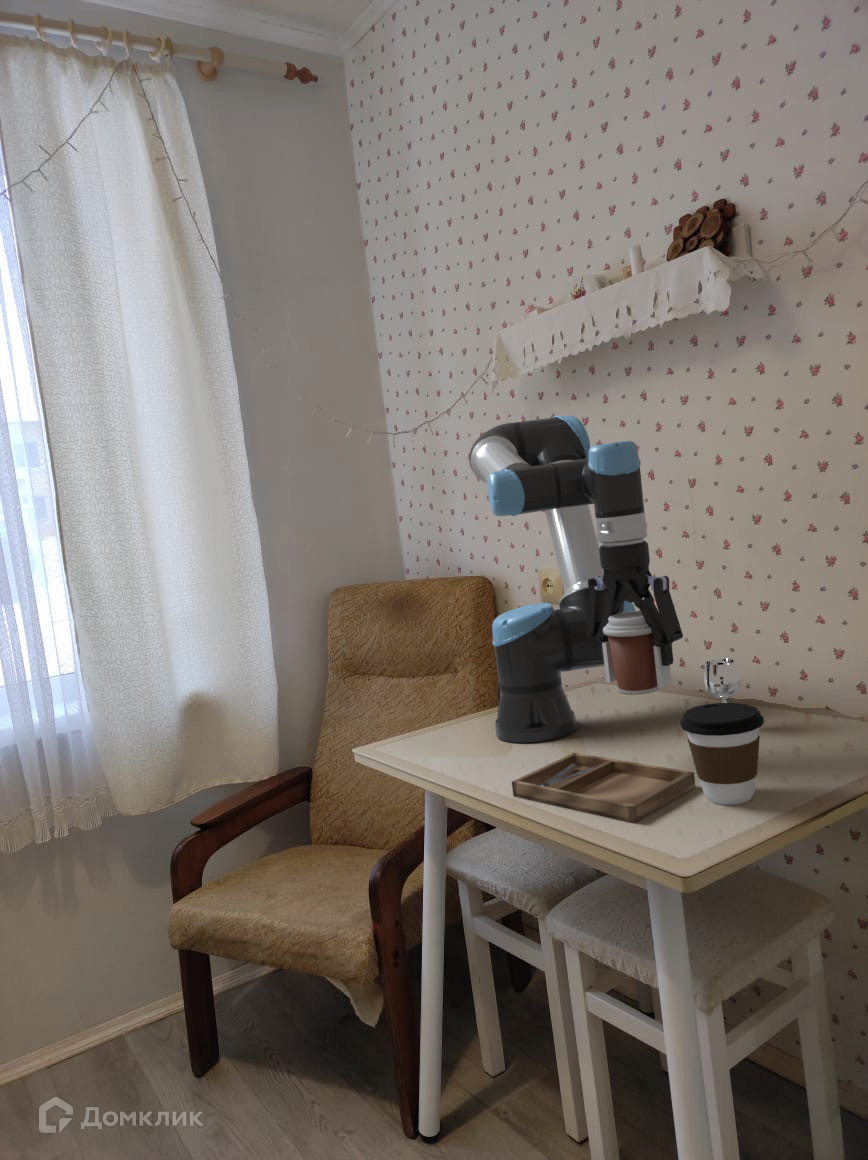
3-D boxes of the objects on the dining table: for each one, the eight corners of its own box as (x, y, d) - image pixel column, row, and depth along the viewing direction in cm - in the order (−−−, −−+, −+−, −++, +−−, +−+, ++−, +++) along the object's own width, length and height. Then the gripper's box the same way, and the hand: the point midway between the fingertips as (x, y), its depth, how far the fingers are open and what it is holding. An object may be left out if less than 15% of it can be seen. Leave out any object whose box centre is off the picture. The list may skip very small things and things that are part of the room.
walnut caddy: (513, 795, 135) (511, 781, 135) (575, 765, 145) (574, 752, 145) (634, 823, 119) (632, 807, 118) (695, 787, 128) (693, 772, 128)
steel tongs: (553, 796, 131) (553, 789, 131) (528, 790, 135) (527, 783, 135) (598, 773, 138) (597, 766, 138) (573, 769, 142) (572, 762, 142)
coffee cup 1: (676, 681, 143) (668, 608, 141) (657, 698, 135) (649, 620, 134) (622, 681, 148) (614, 610, 146) (601, 696, 140) (592, 621, 139)
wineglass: (740, 724, 155) (733, 656, 154) (748, 733, 149) (741, 663, 148) (706, 727, 155) (699, 660, 154) (713, 737, 150) (706, 667, 149)
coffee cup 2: (677, 790, 128) (668, 709, 127) (751, 778, 129) (742, 697, 128) (705, 817, 117) (696, 728, 116) (786, 804, 118) (777, 715, 117)
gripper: (553, 547, 144) (569, 683, 147) (669, 543, 128) (685, 695, 131) (582, 540, 149) (597, 671, 152) (698, 535, 133) (712, 682, 136)
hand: (638, 682), depth 141 cm, fingers closed on coffee cup 1, 9 cm apart
